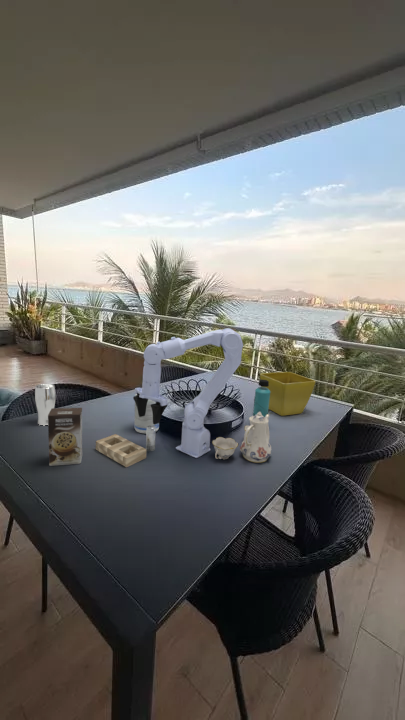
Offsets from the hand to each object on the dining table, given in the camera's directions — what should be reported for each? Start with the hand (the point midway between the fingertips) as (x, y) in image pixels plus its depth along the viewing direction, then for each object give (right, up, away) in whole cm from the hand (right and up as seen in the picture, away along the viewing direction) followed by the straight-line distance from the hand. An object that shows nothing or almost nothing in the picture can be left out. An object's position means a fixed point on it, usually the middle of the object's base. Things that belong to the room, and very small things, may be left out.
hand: (148, 419), depth 108 cm
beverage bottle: (+42, -8, +27) cm, 51 cm away
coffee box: (-24, -11, -8) cm, 28 cm away
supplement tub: (-4, -7, +17) cm, 19 cm away
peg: (0, -10, +2) cm, 11 cm away
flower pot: (+57, -5, +48) cm, 75 cm away
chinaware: (+34, -13, +3) cm, 36 cm away
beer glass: (-43, -5, +17) cm, 46 cm away
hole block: (-9, -11, -3) cm, 14 cm away
